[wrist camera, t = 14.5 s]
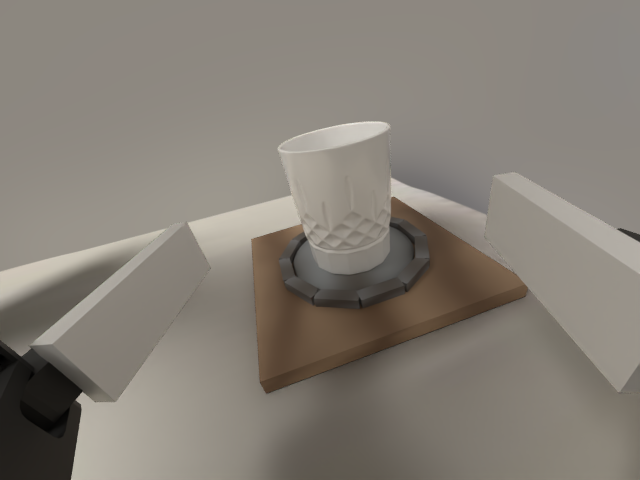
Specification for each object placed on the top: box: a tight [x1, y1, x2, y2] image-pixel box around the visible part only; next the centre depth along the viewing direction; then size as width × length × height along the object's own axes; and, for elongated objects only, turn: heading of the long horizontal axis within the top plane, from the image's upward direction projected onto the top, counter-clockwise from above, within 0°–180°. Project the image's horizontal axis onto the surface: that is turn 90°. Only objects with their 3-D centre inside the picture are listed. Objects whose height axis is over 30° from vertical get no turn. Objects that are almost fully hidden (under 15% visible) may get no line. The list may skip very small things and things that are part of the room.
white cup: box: [278, 121, 391, 275], centre depth 21 cm, size 8×8×10 cm
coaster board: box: [251, 197, 528, 393], centre depth 24 cm, size 18×18×2 cm
